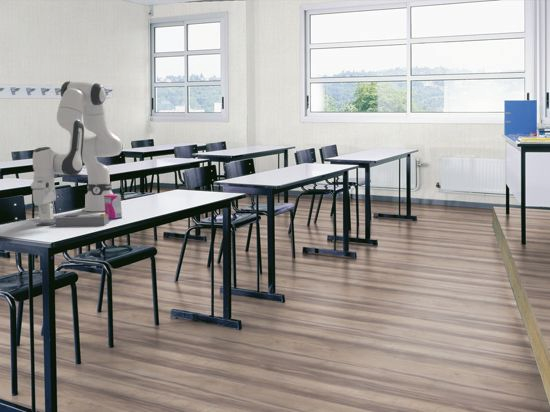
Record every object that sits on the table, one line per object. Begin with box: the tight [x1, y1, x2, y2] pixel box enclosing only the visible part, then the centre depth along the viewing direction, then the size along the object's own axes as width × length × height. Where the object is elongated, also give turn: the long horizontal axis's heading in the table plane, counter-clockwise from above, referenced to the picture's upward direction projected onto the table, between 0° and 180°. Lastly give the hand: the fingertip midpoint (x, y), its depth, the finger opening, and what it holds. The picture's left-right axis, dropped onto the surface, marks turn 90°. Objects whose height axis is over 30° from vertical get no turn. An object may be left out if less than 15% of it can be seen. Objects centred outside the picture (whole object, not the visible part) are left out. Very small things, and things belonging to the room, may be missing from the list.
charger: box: [38, 202, 55, 221], centre depth 301 cm, size 4×5×7 cm
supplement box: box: [104, 193, 123, 220], centre depth 317 cm, size 6×6×12 cm
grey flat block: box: [54, 212, 112, 227], centre depth 304 cm, size 16×22×5 cm
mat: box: [35, 221, 55, 227], centre depth 302 cm, size 7×7×1 cm
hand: (46, 213), depth 301 cm, fingers closed on charger, 4 cm apart
